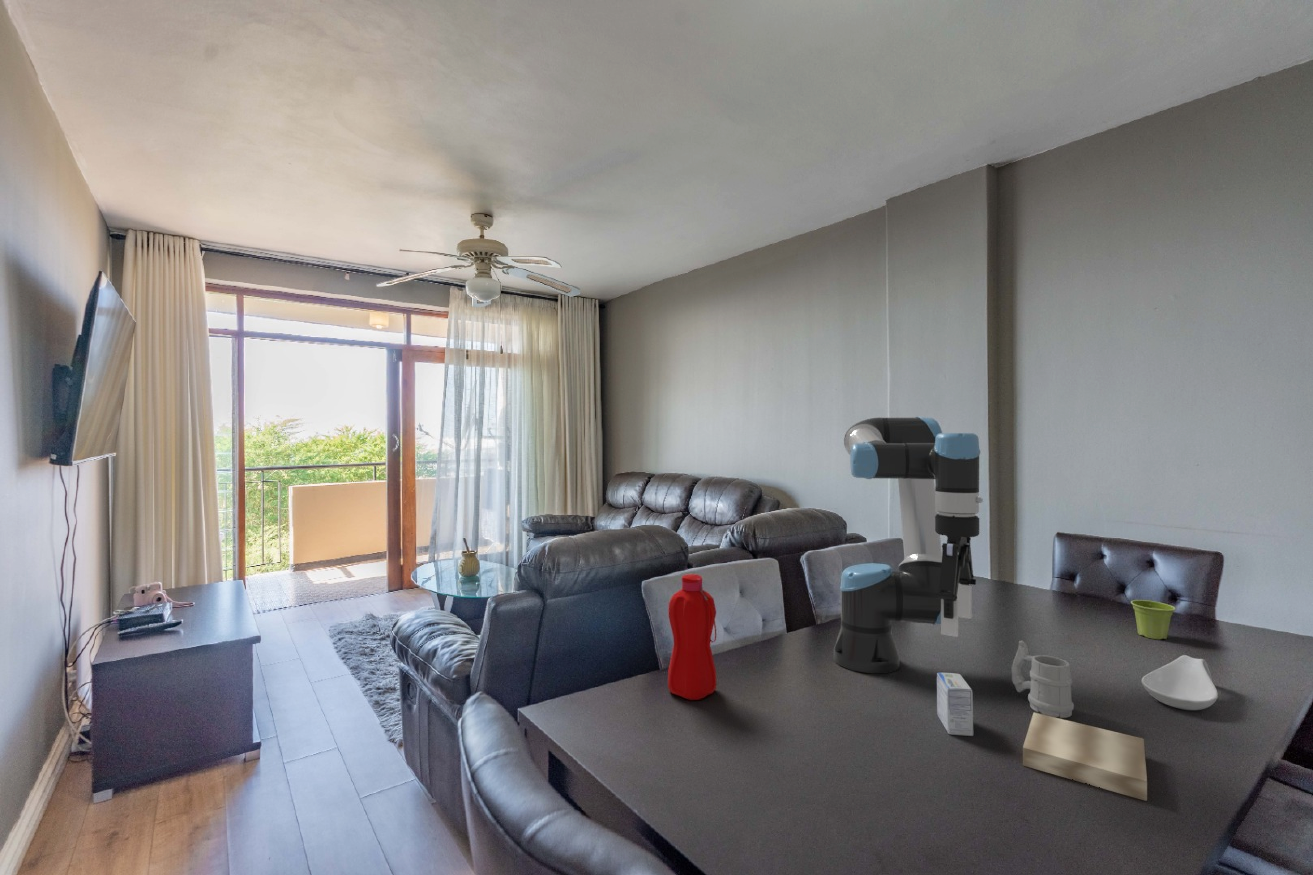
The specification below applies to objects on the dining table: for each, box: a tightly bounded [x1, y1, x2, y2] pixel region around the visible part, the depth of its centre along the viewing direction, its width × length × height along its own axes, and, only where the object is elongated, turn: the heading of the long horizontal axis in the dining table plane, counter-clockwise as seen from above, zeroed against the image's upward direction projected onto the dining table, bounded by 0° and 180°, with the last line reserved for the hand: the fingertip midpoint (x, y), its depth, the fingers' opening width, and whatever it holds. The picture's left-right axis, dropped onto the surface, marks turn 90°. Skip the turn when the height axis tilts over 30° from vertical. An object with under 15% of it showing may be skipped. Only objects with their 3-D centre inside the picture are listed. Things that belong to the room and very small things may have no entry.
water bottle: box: [667, 573, 717, 701], centre depth 128 cm, size 9×11×25 cm
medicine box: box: [936, 672, 974, 737], centre depth 113 cm, size 8×4×9 cm, turn 168°
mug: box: [1011, 640, 1075, 719], centre depth 122 cm, size 8×12×12 cm, turn 25°
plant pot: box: [1130, 599, 1176, 640], centre depth 164 cm, size 9×9×9 cm
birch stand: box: [1022, 712, 1148, 802], centre depth 101 cm, size 16×16×3 cm
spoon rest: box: [1141, 654, 1219, 711], centre depth 126 cm, size 24×12×7 cm, turn 129°
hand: (957, 626), depth 113 cm, fingers open, 13 cm apart
